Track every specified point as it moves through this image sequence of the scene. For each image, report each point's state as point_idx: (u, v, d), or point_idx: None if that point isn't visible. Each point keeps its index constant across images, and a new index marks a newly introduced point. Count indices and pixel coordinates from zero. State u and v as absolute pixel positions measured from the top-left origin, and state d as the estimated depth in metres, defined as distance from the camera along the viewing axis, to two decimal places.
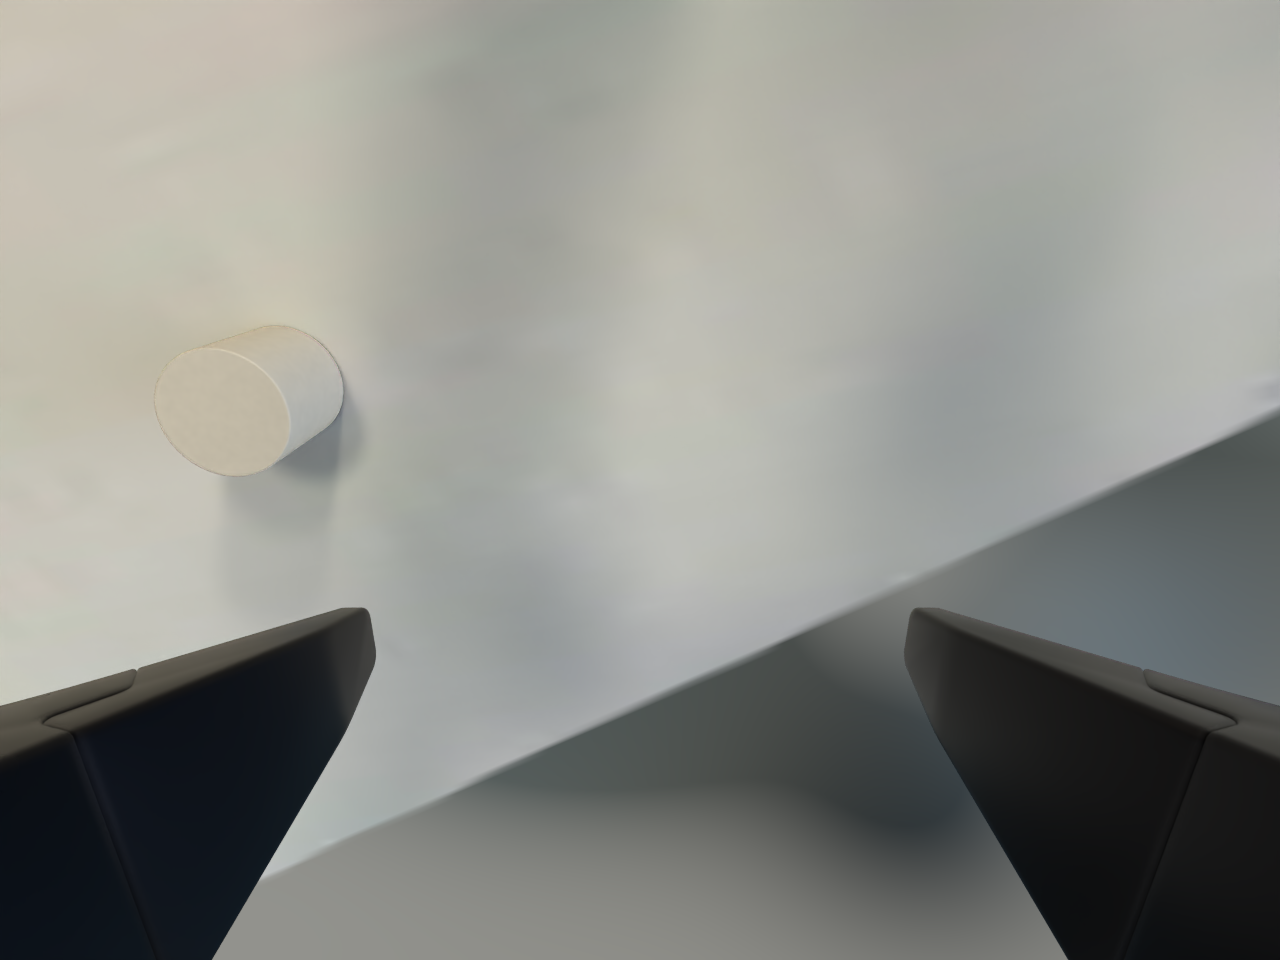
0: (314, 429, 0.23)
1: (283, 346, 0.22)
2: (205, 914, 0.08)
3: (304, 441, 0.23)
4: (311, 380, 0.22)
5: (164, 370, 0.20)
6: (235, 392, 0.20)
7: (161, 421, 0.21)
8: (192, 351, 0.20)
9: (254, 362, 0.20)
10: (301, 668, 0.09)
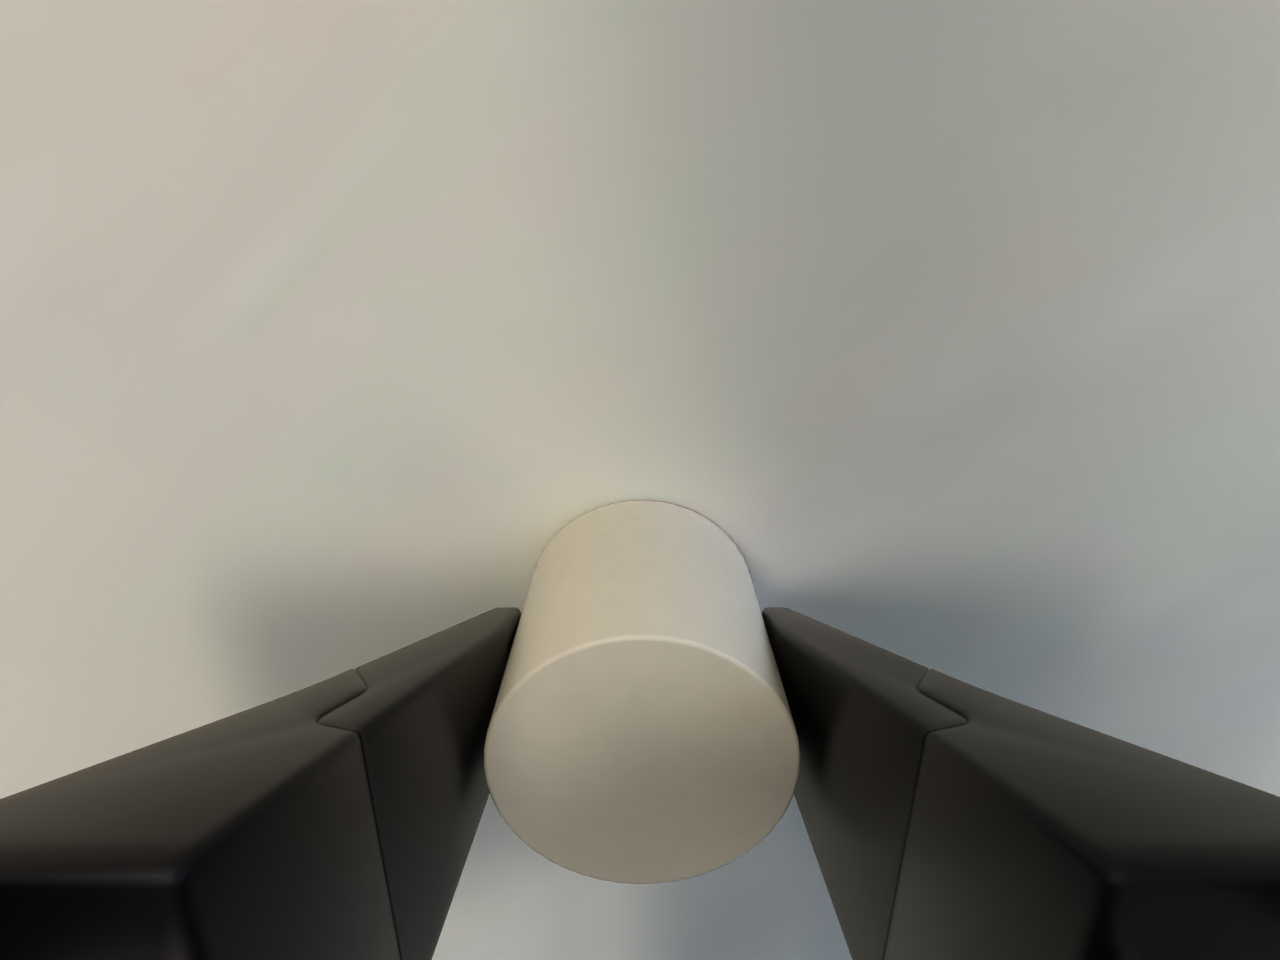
0: None
1: (665, 554, 0.10)
2: (429, 913, 0.08)
3: None
4: (745, 602, 0.10)
5: (492, 730, 0.09)
6: (658, 717, 0.08)
7: (513, 824, 0.09)
8: (540, 670, 0.08)
9: (683, 637, 0.08)
10: (487, 668, 0.09)
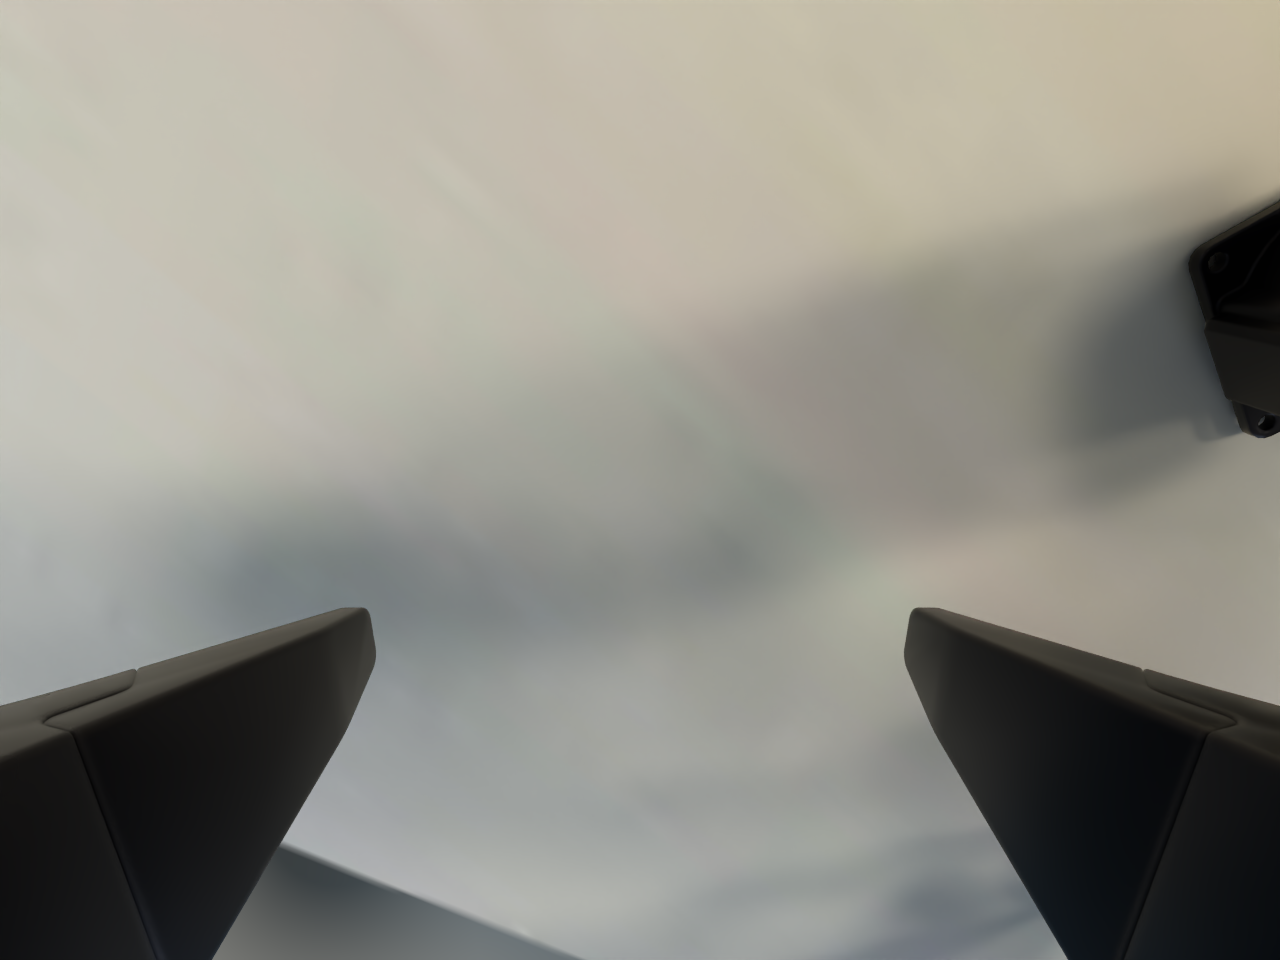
0: None
1: None
2: (205, 914, 0.08)
3: None
4: None
5: None
6: None
7: None
8: None
9: None
10: (301, 668, 0.09)
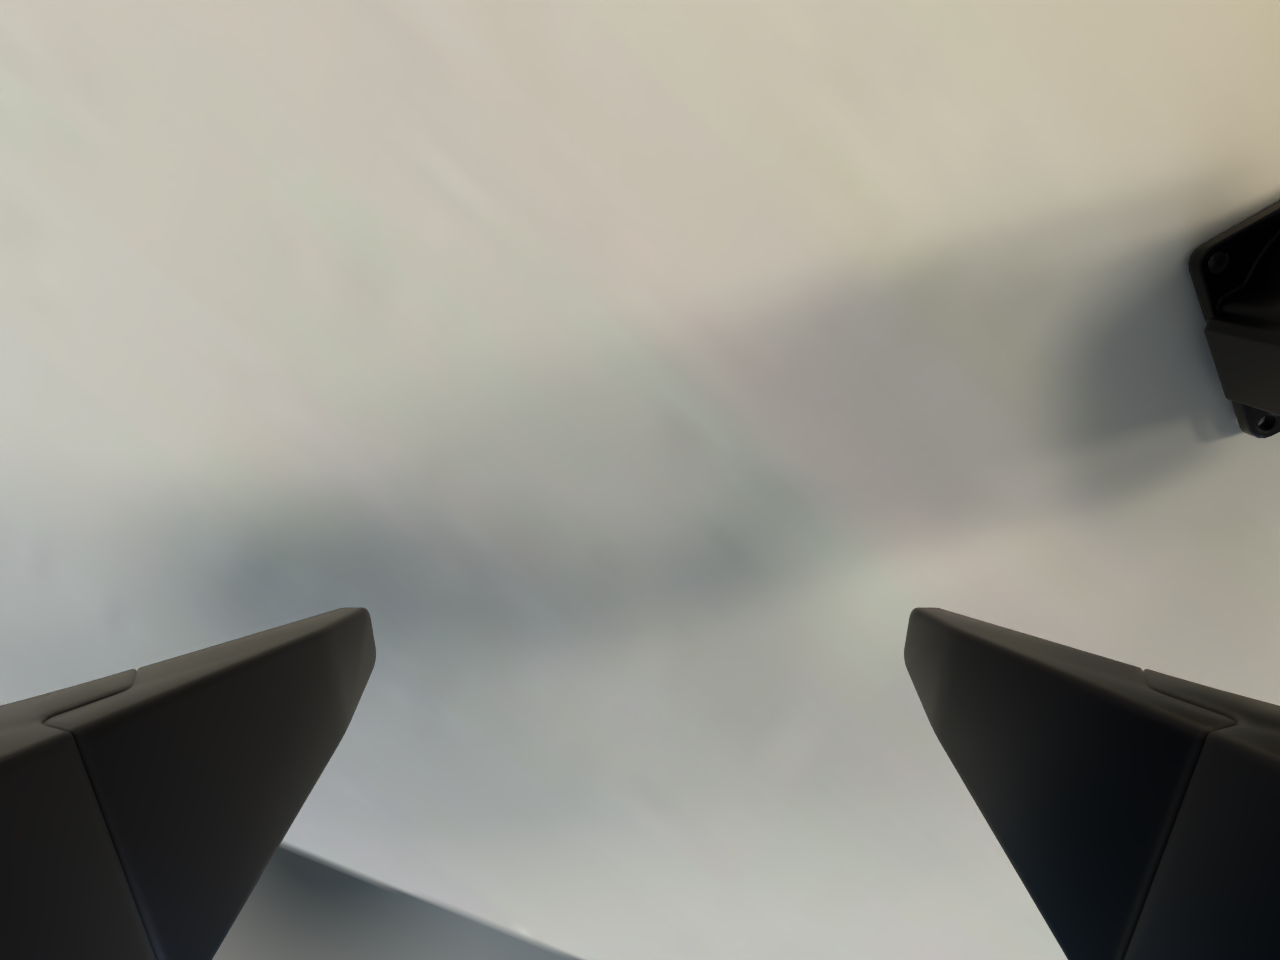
0: None
1: None
2: (205, 914, 0.08)
3: None
4: None
5: None
6: None
7: None
8: None
9: None
10: (301, 668, 0.09)
